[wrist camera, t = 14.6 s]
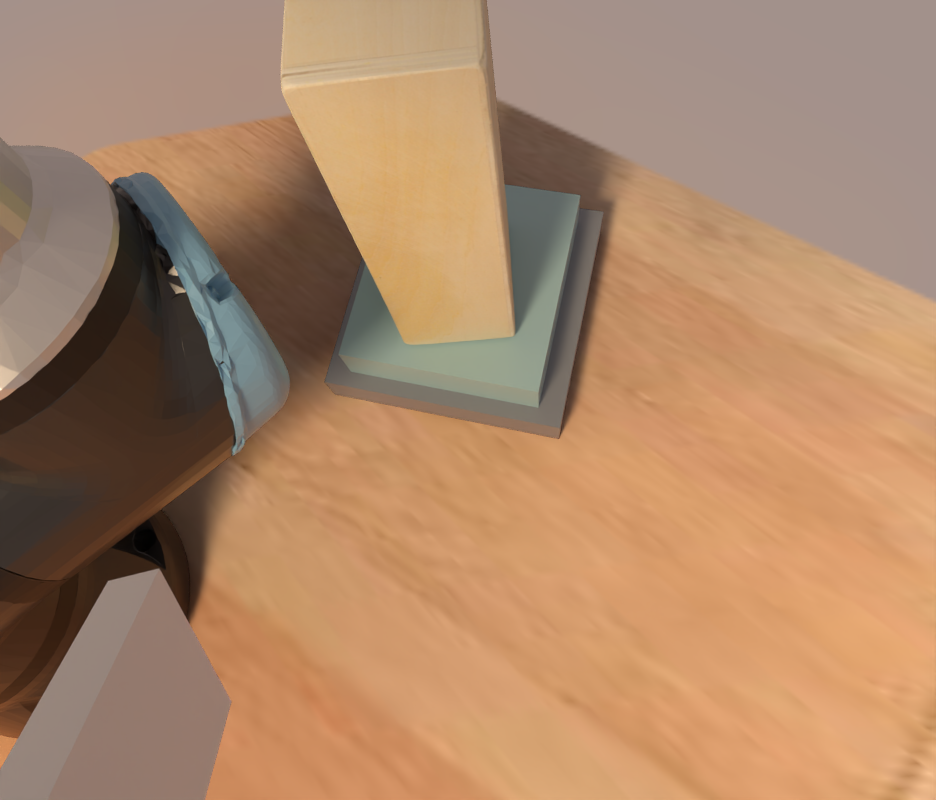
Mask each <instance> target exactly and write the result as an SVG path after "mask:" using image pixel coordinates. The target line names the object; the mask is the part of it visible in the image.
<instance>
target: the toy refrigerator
mask: <svg viewBox="0 0 936 800" xmlns="http://www.w3.org/2000/svg"><path fill="white" fill-rule="evenodd" d="M281 89H282V93H283V96H284V98H285V101H286V103H287V105H288V107H289V109H290V111H291V113H292V115H293V117H294V119H295V121H296V123H297V125H298V127H299V129H300V131H301V133H302V135H303V137H304V139H305V142H306V143H307V145H308V147H309V149H310V151H311V153H312V156H313V158H314V160H315V162H316V164H317V166H318V168H319V170H320V172H321V174H322V176H323V178H324V180H325V182H326V184H327V186H328V188H329V190H330V192H331V195H332V197H333V199H334V201H335V203H336V205H337V207H338V209H339V210H340V213H341V215H342V217H343V219H344V221H345V223H346V225H347V227H348V229H349V231H350V233H351V234H352V237H353V239H354V241H355V243H356V245H357V247H358V249H359V251H360V253H361V255H362V257H363V259H364V261H365V263H366V265H367V267H368V269H369V271H370V273H371V275H372V277H373V279H374V281H375V283H376V285H377V287H378V289H379V291H380V293H381V295H382V298H383V300H384V302H385V304H386V305H387V307H388V309H389V312H390V314H391V316H392V318H393V320H394V322H395V324H396V327H397V328H398V331H399V333H400V335H401V337H402V339H403V341H404V343H406V344H410V345H420V344H437V343H448V342H461V341H473V340H485V339H496V338H506V337H513V336H514V335H515V312H514V298H513V283H512V268H511V254H510V239H509V225H508V213H507V202H506V193H505V183H504V173H503V162H502V152H501V143H500V131H499V121H498V112H497V102H496V91H495V82H494V72H493V61H492V51H491V40H490V29H489V20H488V9H487V0H285V2H284V23H283V38H282V55H281Z"/></svg>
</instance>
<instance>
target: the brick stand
mask: <svg viewBox="0 0 936 800" xmlns="http://www.w3.org/2000/svg"><path fill="white" fill-rule="evenodd" d="M505 193H506V202H507V213H508V225H509V239H510V254H511V268H512V283H513V298H514V312H515V335H514V336H513V337H506V338H496V339H485V340H473V341H461V342H448V343H437V344H420V345H410V344H406V343H404V341H403V339H402V337H401V335H400V333H399V331H398V328H397V327H396V324H395V322H394V320H393V318H392V316H391V314H390V312H389V309H388V307H387V305H386V304H385V302H384V300H383V298H382V295H381V293H380V291H379V289H378V287H377V285H376V283H375V281H374V279H373V277H372V275H371V273H370V271H369V269H368V267H367V265H366V263H365V261H364V259H363V257H362V260H361V263H360V266H359V270H358V273H357V276H356V280H355V283H354V286H353V289H352V293H351V296H350V299H349V303H348V306H347V309H346V312H345V316H344V319H343V322H342V326H341V329H340V332H339V335H338V339H337V342H336V345H335V349H334V352H333V355H332V358H331V362H330V365H329V368H328V372H327V375H326V378H325V383H326V385H327V386H328V387H329V388H330V389H331V390H332V391H333V393H334V394H336V395H341V396H346V397H351V398H356V399H361V400H366V401H371V402H376V403H381V404H386V405H391V406H396V407H401V408H406V409H411V410H416V411H421V412H426V413H431V414H436V415H441V416H446V417H451V418H456V419H462V420H467V421H472V422H477V423H482V424H487V425H492V426H497V427H502V428H507V429H512V430H517V431H522V432H527V433H532V434H537V435H542V436H547V437H552V438H557V439H559V436H560V431H561V426H562V421H563V416H564V412H565V407H566V402H567V397H568V392H569V387H570V382H571V377H572V372H573V367H574V362H575V357H576V352H577V347H578V342H579V337H580V332H581V327H582V322H583V317H584V312H585V307H586V302H587V297H588V292H589V287H590V282H591V278H592V273H593V268H594V263H595V258H596V253H597V248H598V243H599V238H600V233H601V227H602V220H603V213H604V212H602V211H595V210H589V209H582V208H579V207H580V196H581V195H576V194H569V193H562V192H555V191H548V190H541V189H534V188H527V187H520V186H513V185H506V184H505Z"/></svg>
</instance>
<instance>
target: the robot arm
mask: <svg viewBox="0 0 936 800" xmlns="http://www.w3.org/2000/svg"><path fill="white" fill-rule="evenodd" d="M289 390H290V378H289V374H288V370H287V368H286V365H285V363H284V361H283V359H282V357H281V355H280V353H279V352H278V350H277V348H276V346H275V345H274V343H273V341H272V340H271V338H270V336H269V335H268V333H267V331H266V330H265V328H264V327H263V325H262V323H261V322H260V320H259V319H258V317H257V316H256V314H255V312H254V311H253V309H252V308H251V306H250V305H249V304H248V302H247V301H246V299H245V298H244V296H243V295H242V293H241V292H240V290H239V289H238V288H237V287H236V285H235V284H234V283H232V282H231V281H230V279H229V275H228V273H227V272H226V271H225V269H224V268H223V266H222V265H221V264H220V262H219V260H218V259H217V257H216V255H215V253H214V252H213V250H212V249H211V248H210V246H209V245H208V243H207V242H206V240H205V239H204V238H203V236H202V235H201V233H200V232H199V231H198V229H197V228H196V227H195V225H194V224H193V223H192V221H191V220H190V218H189V217H188V216H187V214H186V213H185V212H184V211H183V209H182V208H181V207H180V205H179V204H178V203H177V201H176V200H175V199H174V198H173V196H172V195H171V194H170V193H169V192H168V190H167V189H166V188H165V187H164V186H163V185H162V183H161V182H160V181H158V180H157V179H156V178H155V177H154V176H152V175H151V174H149V173H144V172H141V173H135V174H133V175H131V176H129V177H121V178H120V177H119V178H117V179H115V180H114V182H113V183H112V184H111V185H110V184H109V182H108V181H107V180H106V179H105V178H104V177H103V176H102V175H101V174H100V173H99V172H98V171H97V170H96V169H95V168H94V167H93V166H92V165H90V164H89V163H87V162H86V161H85V160H83V159H82V158H80V157H78V156H77V155H75V154H73V153H71V152H68V151H65V150H61V149H58V148H52V147H45V146H9V145H7V144H6V143H5V142H4V141H3V140H2V139H1V138H0V735H2V736H6V737H12V738H18V739H17V741H16V743H15V745H14V746H13V748H12V750H11V752H10V753H9V755H8V757H7V759H6V760H5V762H4V764H3V766H2V767H1V769H0V800H205V797H206V793H207V790H208V786H209V782H210V779H211V775H212V771H213V768H214V764H215V760H216V756H217V753H218V749H219V745H220V742H221V738H222V734H223V731H224V727H225V723H226V720H227V716H228V712H229V709H230V705H231V700H230V698H229V696H228V694H227V693H226V691H225V689H224V687H223V685H222V683H221V681H220V680H219V678H218V676H217V674H216V672H215V670H214V669H213V667H212V665H211V663H210V661H209V659H208V657H207V656H206V654H205V652H204V650H203V648H202V646H201V644H200V643H199V641H198V639H197V637H196V635H195V633H194V632H193V630H192V628H191V626H190V624H189V622H188V620H187V619H186V616H187V611H188V604H189V594H190V580H189V569H188V563H187V558H186V554H185V551H184V548H183V545H182V542H181V540H180V538H179V535H178V533H177V532H176V530H175V528H174V526H173V525H172V523H171V522H170V520H169V519H168V518H167V517H166V515H165V514H164V513H163V512H162V511H161V509H162V508H163V507H165V506H166V505H167V504H168V503H170V502H171V501H172V500H174V499H175V498H176V497H178V496H179V495H180V494H182V493H183V492H184V491H185V490H187V489H188V488H189V487H191V486H192V485H193V484H195V483H196V482H197V481H199V480H200V479H201V478H202V477H204V476H205V475H206V474H208V473H209V472H210V471H212V470H213V469H214V468H216V467H217V466H218V465H219V464H221V463H222V462H223V461H225V460H226V459H227V458H229V457H230V456H232V455H235V454H237V453H238V452H240V451H241V450H242V448H243V446H244V445H245V442H246V440H247V439H248V438H249V437H250V436H252V435H253V434H254V433H255V432H256V431H257V430H258V429H259V428H261V427H262V426H263V425H264V424H265V423H266V422H267V421H268V420H270V419H271V418H272V417H273V416H274V415H275V414H276V413H277V412H279V411H280V409H281V408H282V407H283V406H284V404H285V402H286V400H287V398H288V395H289Z"/></svg>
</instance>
